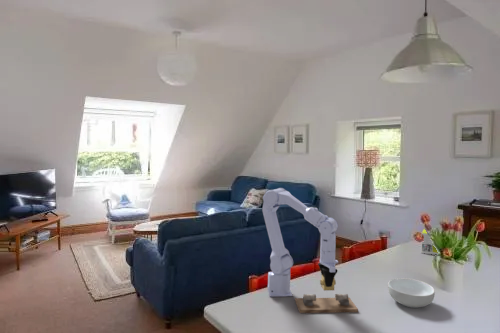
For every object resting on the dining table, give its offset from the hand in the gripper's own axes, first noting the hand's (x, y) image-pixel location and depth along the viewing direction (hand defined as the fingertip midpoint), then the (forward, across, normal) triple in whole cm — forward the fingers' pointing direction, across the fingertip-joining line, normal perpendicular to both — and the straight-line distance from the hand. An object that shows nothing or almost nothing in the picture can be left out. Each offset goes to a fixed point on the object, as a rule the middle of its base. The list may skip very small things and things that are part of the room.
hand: (327, 284), depth 138 cm
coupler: (+2, 0, 0) cm, 2 cm away
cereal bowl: (+9, 0, -34) cm, 35 cm away
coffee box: (+9, +66, -81) cm, 105 cm away
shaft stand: (+8, -1, +1) cm, 9 cm away
